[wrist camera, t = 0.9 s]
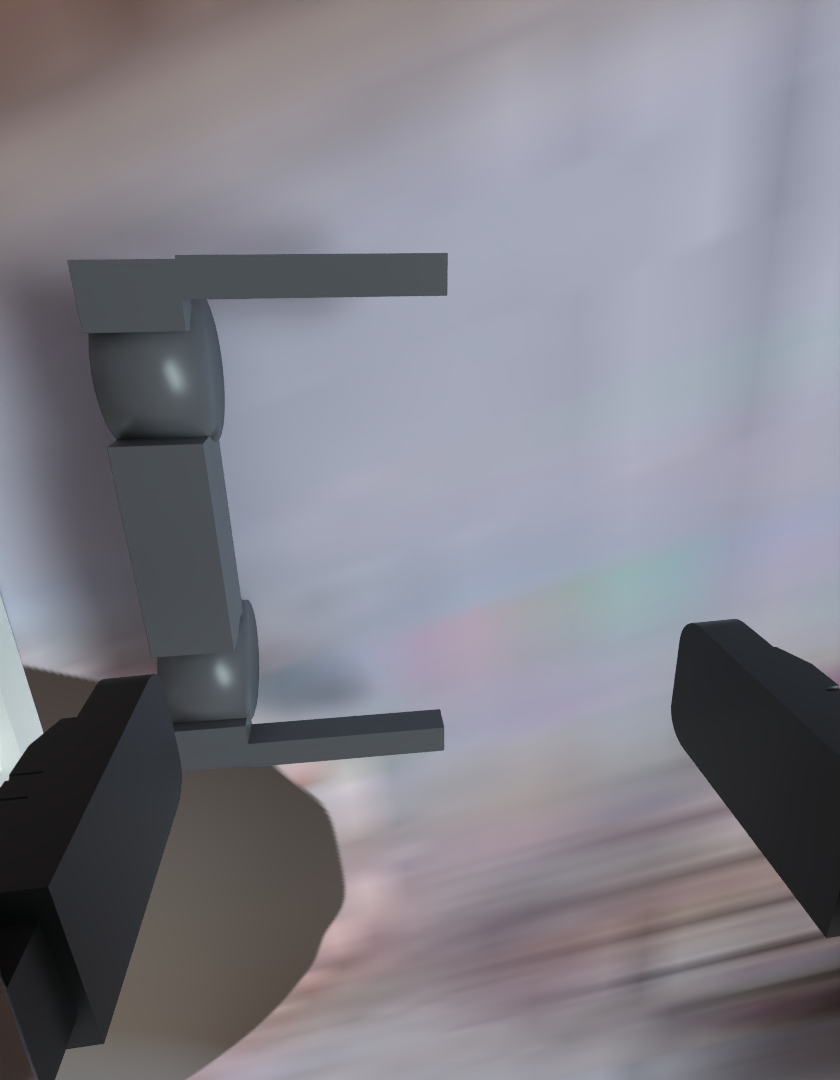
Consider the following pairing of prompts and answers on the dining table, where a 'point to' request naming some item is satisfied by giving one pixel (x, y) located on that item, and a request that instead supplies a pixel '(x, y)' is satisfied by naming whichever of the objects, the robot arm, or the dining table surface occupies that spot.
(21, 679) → the display stand
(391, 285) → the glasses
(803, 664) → the robot arm
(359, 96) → the dining table surface
